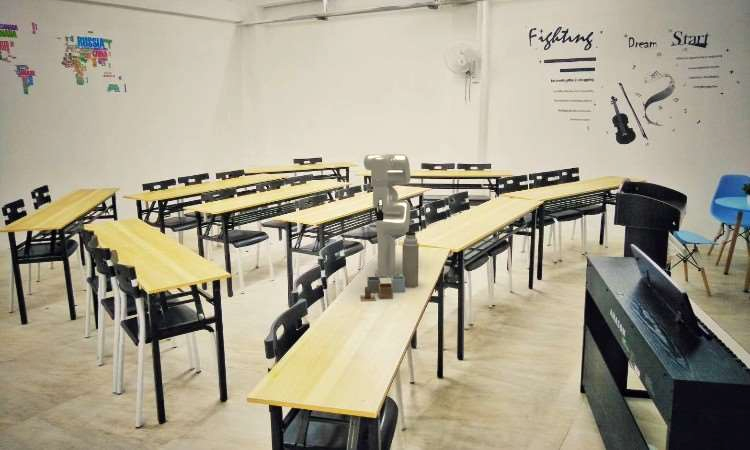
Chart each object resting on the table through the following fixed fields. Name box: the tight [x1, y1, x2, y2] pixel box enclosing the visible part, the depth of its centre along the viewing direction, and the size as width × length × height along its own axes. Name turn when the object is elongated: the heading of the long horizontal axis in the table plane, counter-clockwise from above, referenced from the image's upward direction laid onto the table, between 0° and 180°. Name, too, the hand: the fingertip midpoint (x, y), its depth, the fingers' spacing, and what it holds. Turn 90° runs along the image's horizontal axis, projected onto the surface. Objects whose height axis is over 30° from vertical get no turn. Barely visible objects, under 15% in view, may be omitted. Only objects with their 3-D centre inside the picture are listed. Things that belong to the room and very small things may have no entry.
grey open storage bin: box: [366, 275, 381, 294], centre depth 263 cm, size 6×6×7 cm
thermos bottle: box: [401, 231, 420, 289], centre depth 269 cm, size 8×8×28 cm
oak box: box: [377, 282, 394, 300], centre depth 256 cm, size 6×6×6 cm
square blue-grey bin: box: [390, 275, 406, 294], centre depth 264 cm, size 6×6×7 cm
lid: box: [359, 286, 377, 302], centre depth 254 cm, size 7×7×6 cm
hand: (379, 218), depth 259 cm, fingers open, 9 cm apart
